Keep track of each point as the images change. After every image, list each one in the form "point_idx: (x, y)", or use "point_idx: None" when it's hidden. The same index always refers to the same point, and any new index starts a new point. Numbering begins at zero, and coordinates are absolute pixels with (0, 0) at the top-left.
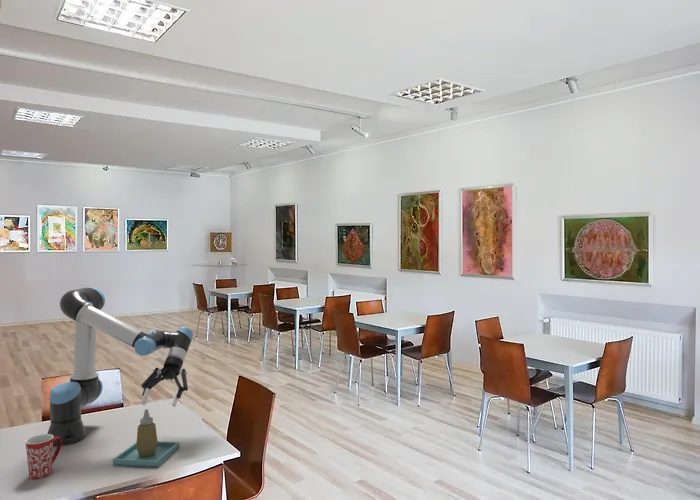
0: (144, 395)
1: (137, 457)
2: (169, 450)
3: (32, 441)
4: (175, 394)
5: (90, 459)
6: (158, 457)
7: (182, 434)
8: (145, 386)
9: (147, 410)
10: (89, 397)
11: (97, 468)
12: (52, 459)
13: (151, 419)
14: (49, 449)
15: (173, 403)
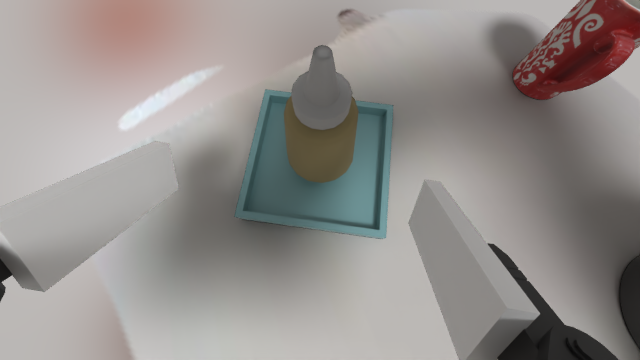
0: (456, 220)
1: None
2: (250, 154)
3: None
4: (79, 180)
5: (473, 152)
6: (280, 143)
7: (259, 354)
8: (597, 349)
9: (313, 51)
10: None
11: (419, 104)
12: (552, 83)
13: (293, 86)
14: (573, 16)
15: (152, 146)
